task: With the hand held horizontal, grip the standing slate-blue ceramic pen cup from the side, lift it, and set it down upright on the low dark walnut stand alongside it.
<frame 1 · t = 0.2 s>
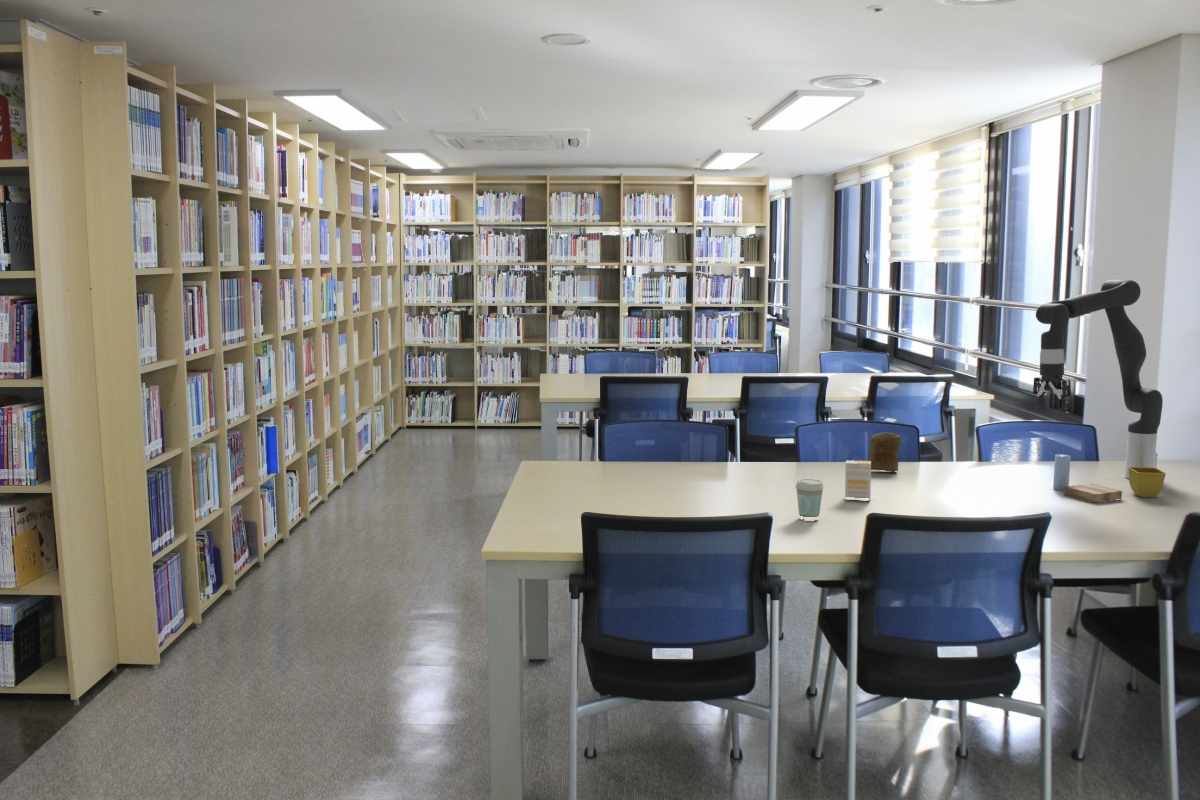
hand: (1051, 408, 314), 29 cm above the table, tool pointing down, fingers open, 8 cm apart
flower pot: (1144, 496, 307), on the table
supplement box: (857, 500, 306), on the table
stand: (1092, 497, 305), on the table
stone: (883, 472, 349), on the table
coffee cup: (808, 519, 282), on the table
pen cup: (1060, 489, 317), on the table
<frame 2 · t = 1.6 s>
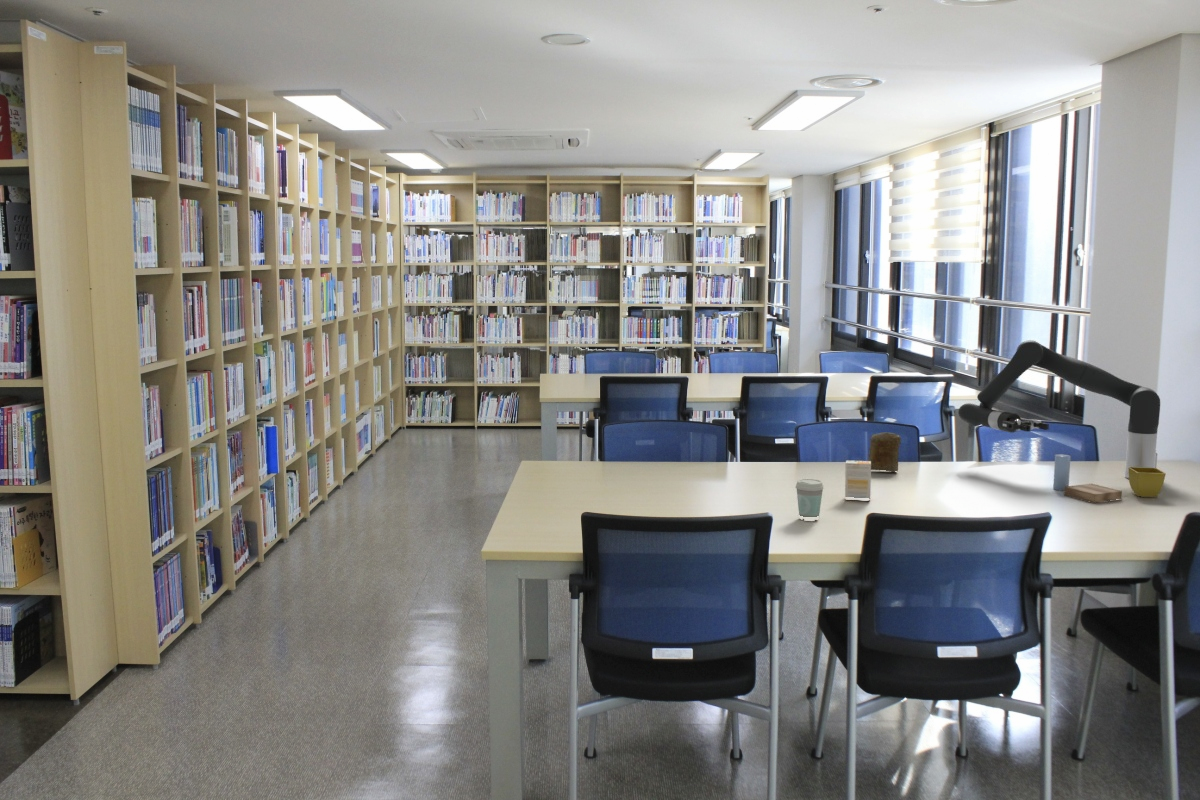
hand: (1039, 427, 325), 20 cm above the table, tool horizontal, fingers open, 8 cm apart
nothing on the table moved.
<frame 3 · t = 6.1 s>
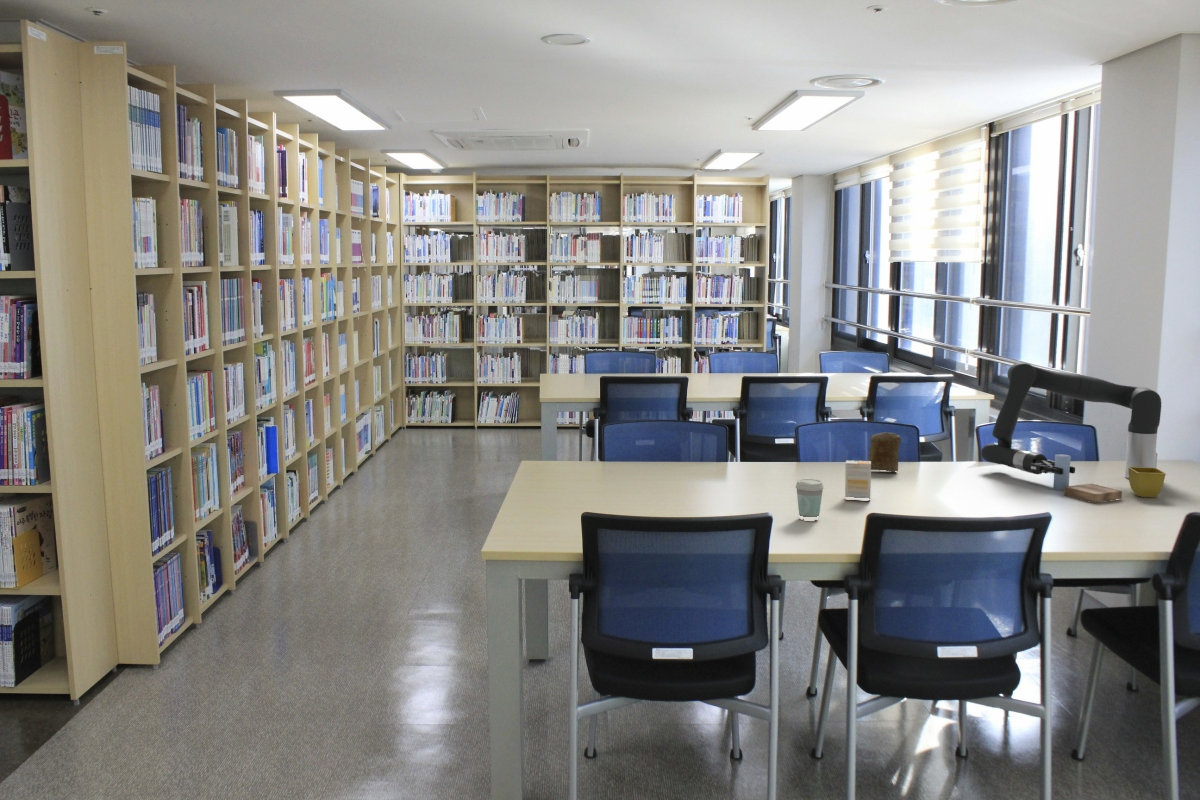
hand: (1068, 471, 314), 7 cm above the table, tool horizontal, fingers closed on pen cup, 4 cm apart
pen cup: (1060, 489, 317), on the table, touching gripper
everything else where it was.
when the fingers open (11 cm above the table, at t = 10.7 s): pen cup stays where it is, resting on stand.
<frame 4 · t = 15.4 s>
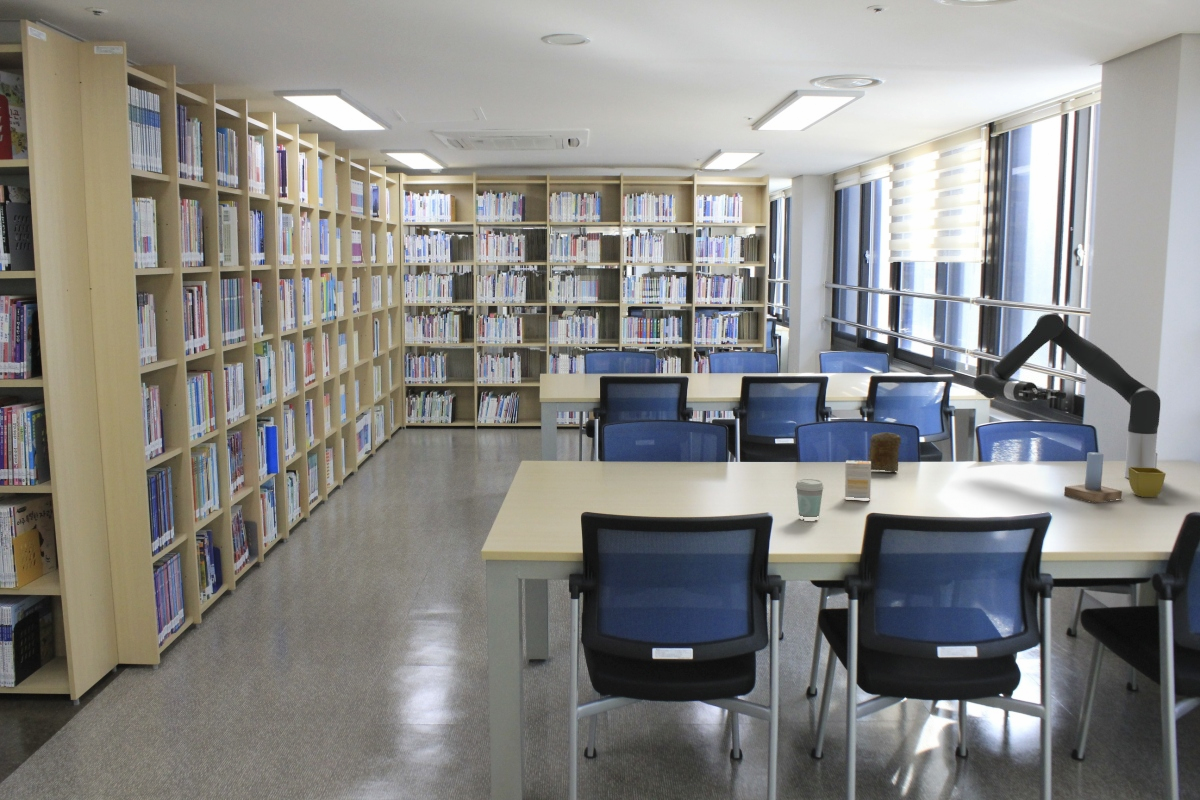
hand: (1056, 396, 320), 32 cm above the table, tool horizontal, fingers open, 8 cm apart
pen cup: (1092, 488, 305), point 3 cm above the table, touching stand
everything else where it was.
at the end: pen cup inside the target area on the stand (0.1 cm from its centre), point 3.0 cm above the stand's base; pen cup tilted 1°; the gripper is holding nothing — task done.
